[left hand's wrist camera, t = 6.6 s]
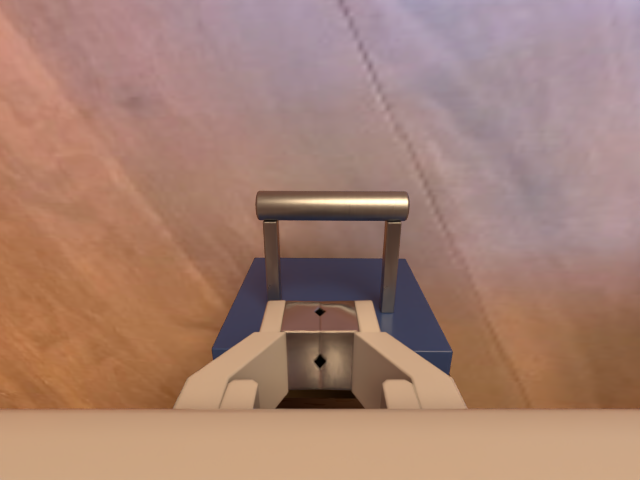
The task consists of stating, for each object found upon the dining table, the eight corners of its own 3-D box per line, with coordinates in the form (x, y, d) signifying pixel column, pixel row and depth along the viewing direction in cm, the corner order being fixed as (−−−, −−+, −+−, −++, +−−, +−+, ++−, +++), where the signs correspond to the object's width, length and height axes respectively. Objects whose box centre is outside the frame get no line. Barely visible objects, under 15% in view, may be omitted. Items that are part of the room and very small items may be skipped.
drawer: (248, 167, 20) (192, 211, 12) (414, 167, 20) (476, 212, 12) (266, 423, 27) (239, 564, 19) (389, 425, 27) (418, 568, 19)
